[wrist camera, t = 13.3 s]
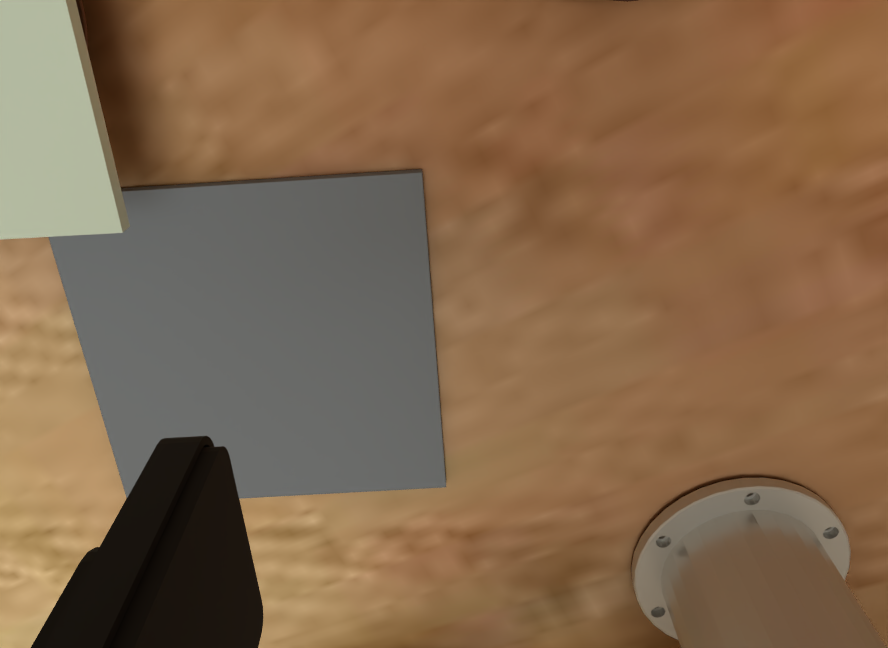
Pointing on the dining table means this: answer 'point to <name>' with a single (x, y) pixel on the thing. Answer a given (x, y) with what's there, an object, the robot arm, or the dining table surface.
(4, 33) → the cover board
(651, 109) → the dining table surface
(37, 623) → the dining table surface
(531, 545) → the dining table surface
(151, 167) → the dining table surface
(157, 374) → the rubber mat
